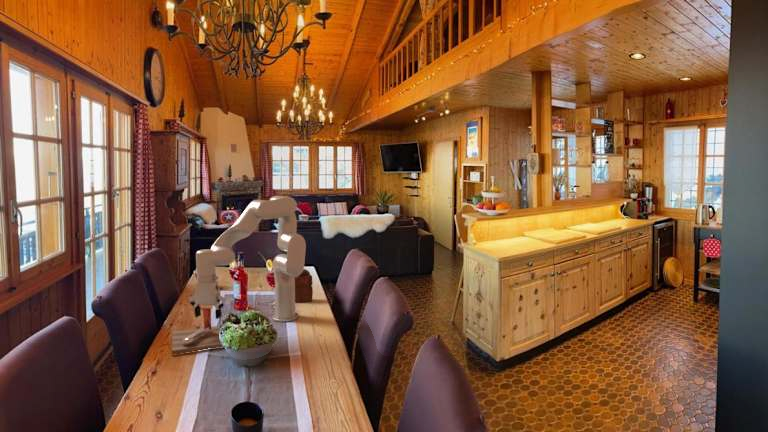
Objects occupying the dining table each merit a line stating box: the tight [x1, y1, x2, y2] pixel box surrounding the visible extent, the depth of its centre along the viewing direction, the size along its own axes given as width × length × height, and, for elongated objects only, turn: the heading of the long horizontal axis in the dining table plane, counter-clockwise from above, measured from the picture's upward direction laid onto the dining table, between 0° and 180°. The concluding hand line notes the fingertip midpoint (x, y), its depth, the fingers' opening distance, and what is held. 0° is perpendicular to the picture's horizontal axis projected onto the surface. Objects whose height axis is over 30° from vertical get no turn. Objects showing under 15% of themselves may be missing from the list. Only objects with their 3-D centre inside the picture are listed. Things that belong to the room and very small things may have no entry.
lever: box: [183, 307, 212, 346], centre depth 188 cm, size 18×4×10 cm, turn 170°
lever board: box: [171, 325, 222, 356], centre depth 190 cm, size 22×19×2 cm
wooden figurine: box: [294, 268, 314, 303], centre depth 247 cm, size 12×6×18 cm, turn 105°
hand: (208, 317), depth 195 cm, fingers open, 9 cm apart
